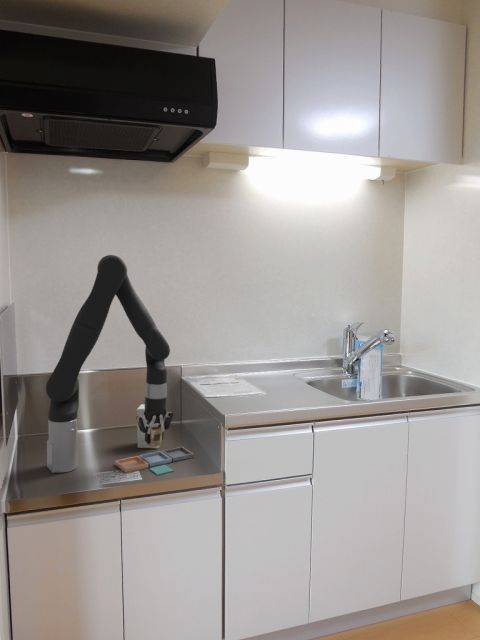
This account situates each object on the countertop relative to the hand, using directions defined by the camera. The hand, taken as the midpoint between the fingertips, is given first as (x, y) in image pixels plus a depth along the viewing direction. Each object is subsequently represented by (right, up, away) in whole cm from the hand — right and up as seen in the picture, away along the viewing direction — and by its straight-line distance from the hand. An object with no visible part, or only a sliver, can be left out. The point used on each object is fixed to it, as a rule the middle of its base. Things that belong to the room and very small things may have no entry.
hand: (154, 442), depth 185 cm
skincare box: (-4, -5, +15) cm, 17 cm away
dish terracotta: (-7, -7, -5) cm, 11 cm away
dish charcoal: (+8, -6, +6) cm, 12 cm away
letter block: (0, -1, 0) cm, 1 cm away
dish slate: (0, -7, 0) cm, 7 cm away
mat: (+4, -8, -8) cm, 12 cm away
